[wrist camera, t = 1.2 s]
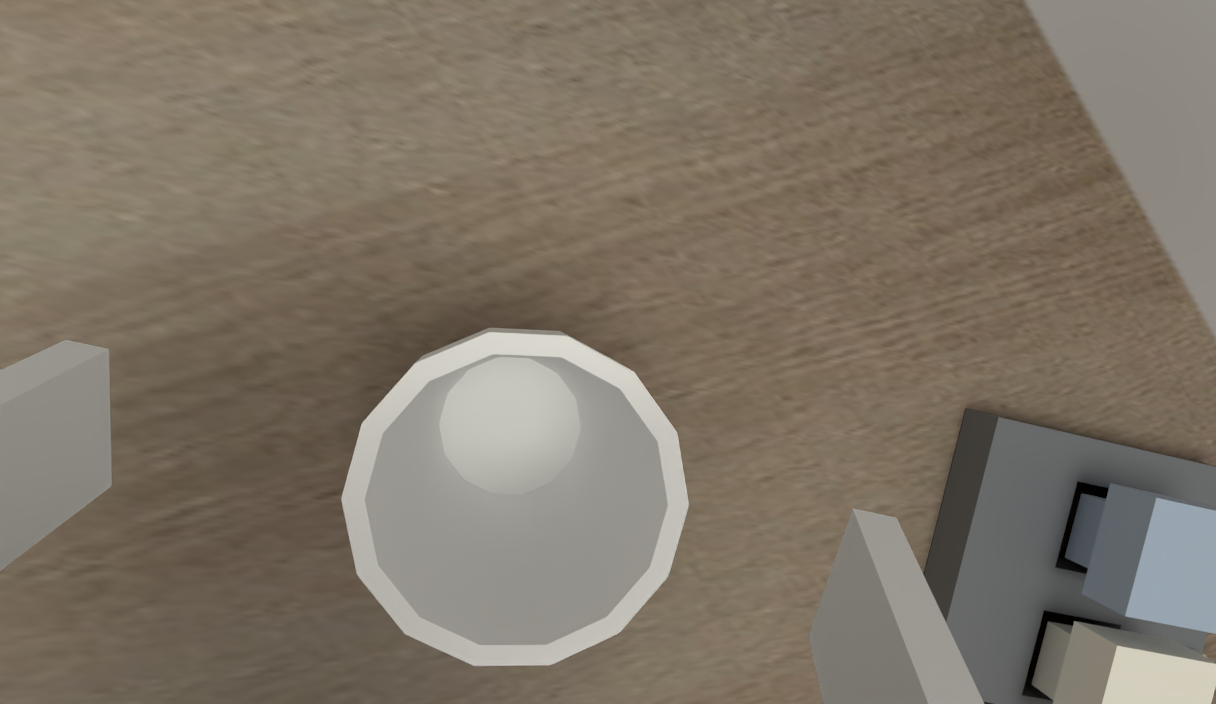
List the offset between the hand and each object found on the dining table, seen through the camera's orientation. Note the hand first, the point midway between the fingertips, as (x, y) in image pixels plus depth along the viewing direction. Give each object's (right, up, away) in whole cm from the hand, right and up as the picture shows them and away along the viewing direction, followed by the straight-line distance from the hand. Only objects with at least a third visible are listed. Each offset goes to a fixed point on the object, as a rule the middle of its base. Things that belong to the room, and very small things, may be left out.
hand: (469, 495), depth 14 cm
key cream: (+23, -11, +23) cm, 35 cm away
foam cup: (-2, -1, +21) cm, 21 cm away
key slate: (+25, -6, +23) cm, 34 cm away
